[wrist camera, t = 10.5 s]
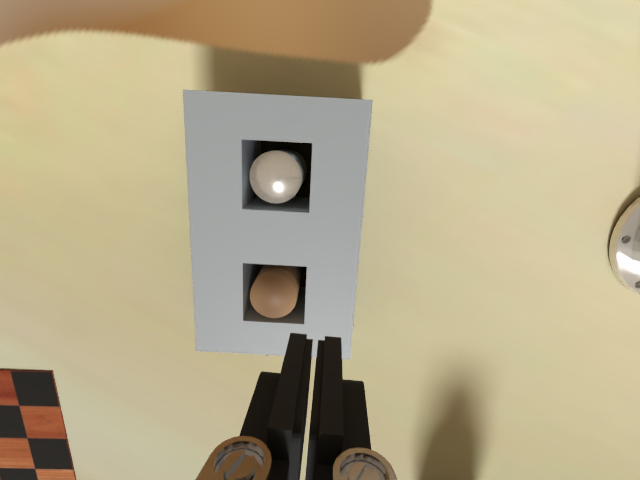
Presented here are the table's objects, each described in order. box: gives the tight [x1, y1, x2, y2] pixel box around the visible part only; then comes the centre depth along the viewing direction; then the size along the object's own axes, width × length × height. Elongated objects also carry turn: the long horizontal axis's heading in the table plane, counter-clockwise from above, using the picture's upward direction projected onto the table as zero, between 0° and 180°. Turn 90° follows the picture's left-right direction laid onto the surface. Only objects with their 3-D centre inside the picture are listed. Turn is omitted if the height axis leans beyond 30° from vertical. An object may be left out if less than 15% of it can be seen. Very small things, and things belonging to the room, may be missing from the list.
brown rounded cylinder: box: [250, 264, 303, 318], centre depth 33 cm, size 4×4×8 cm
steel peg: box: [249, 149, 307, 203], centre depth 31 cm, size 4×4×8 cm
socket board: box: [183, 90, 373, 359], centre depth 32 cm, size 14×22×8 cm, turn 177°
